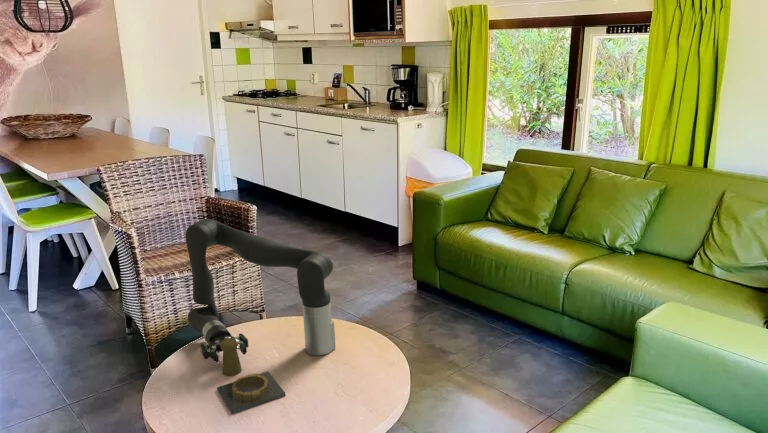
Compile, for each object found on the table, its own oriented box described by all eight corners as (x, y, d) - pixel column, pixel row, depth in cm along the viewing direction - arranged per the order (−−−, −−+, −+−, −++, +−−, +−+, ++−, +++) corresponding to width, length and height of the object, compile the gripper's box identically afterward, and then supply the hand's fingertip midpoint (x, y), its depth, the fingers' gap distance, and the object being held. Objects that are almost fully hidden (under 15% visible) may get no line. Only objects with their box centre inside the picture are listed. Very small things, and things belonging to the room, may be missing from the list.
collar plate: (268, 374, 180) (267, 365, 179) (285, 395, 169) (284, 386, 168) (217, 390, 172) (216, 381, 171) (231, 414, 161) (230, 405, 160)
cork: (236, 377, 179) (233, 345, 176) (218, 375, 180) (214, 344, 177) (245, 367, 184) (241, 336, 181) (227, 365, 186) (224, 334, 182)
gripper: (193, 330, 188) (206, 351, 175) (236, 319, 195) (252, 338, 182) (196, 351, 190) (209, 373, 177) (238, 339, 197) (254, 359, 184)
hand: (231, 355), depth 180 cm, fingers open, 8 cm apart
